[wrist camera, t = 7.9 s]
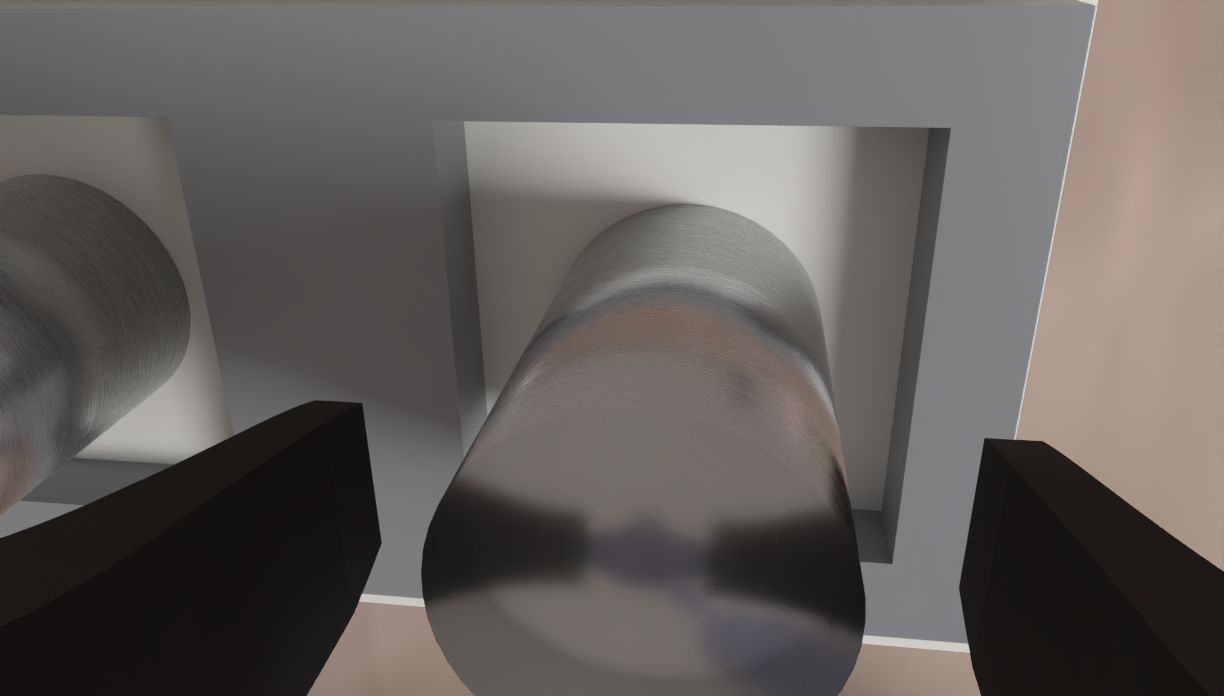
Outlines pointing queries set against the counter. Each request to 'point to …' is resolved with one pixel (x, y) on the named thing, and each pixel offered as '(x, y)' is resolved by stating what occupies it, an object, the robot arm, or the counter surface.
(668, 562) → the cylinder
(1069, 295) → the counter surface
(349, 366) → the grey rectangular tray
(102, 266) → the cylinder
